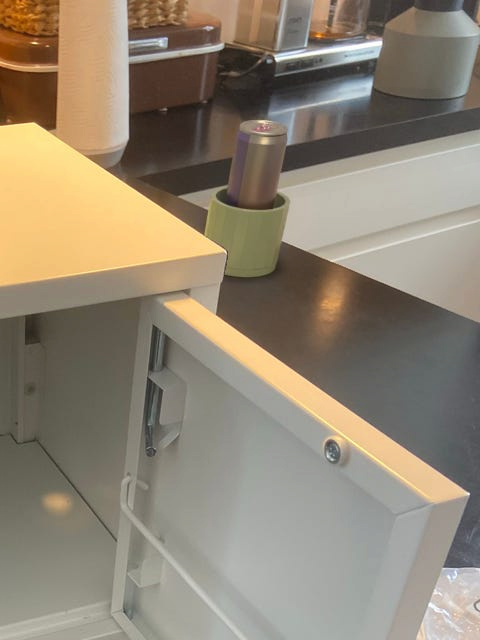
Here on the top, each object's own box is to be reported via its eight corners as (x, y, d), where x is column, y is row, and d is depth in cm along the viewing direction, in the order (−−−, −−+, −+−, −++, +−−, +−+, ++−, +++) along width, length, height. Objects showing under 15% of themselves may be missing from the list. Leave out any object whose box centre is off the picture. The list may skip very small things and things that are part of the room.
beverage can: (207, 254, 121) (228, 126, 111) (232, 242, 125) (255, 116, 114) (247, 267, 118) (272, 136, 108) (271, 254, 122) (299, 126, 112)
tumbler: (268, 249, 126) (281, 186, 120) (282, 278, 119) (297, 212, 113) (196, 247, 126) (206, 184, 120) (206, 276, 119) (217, 210, 113)
